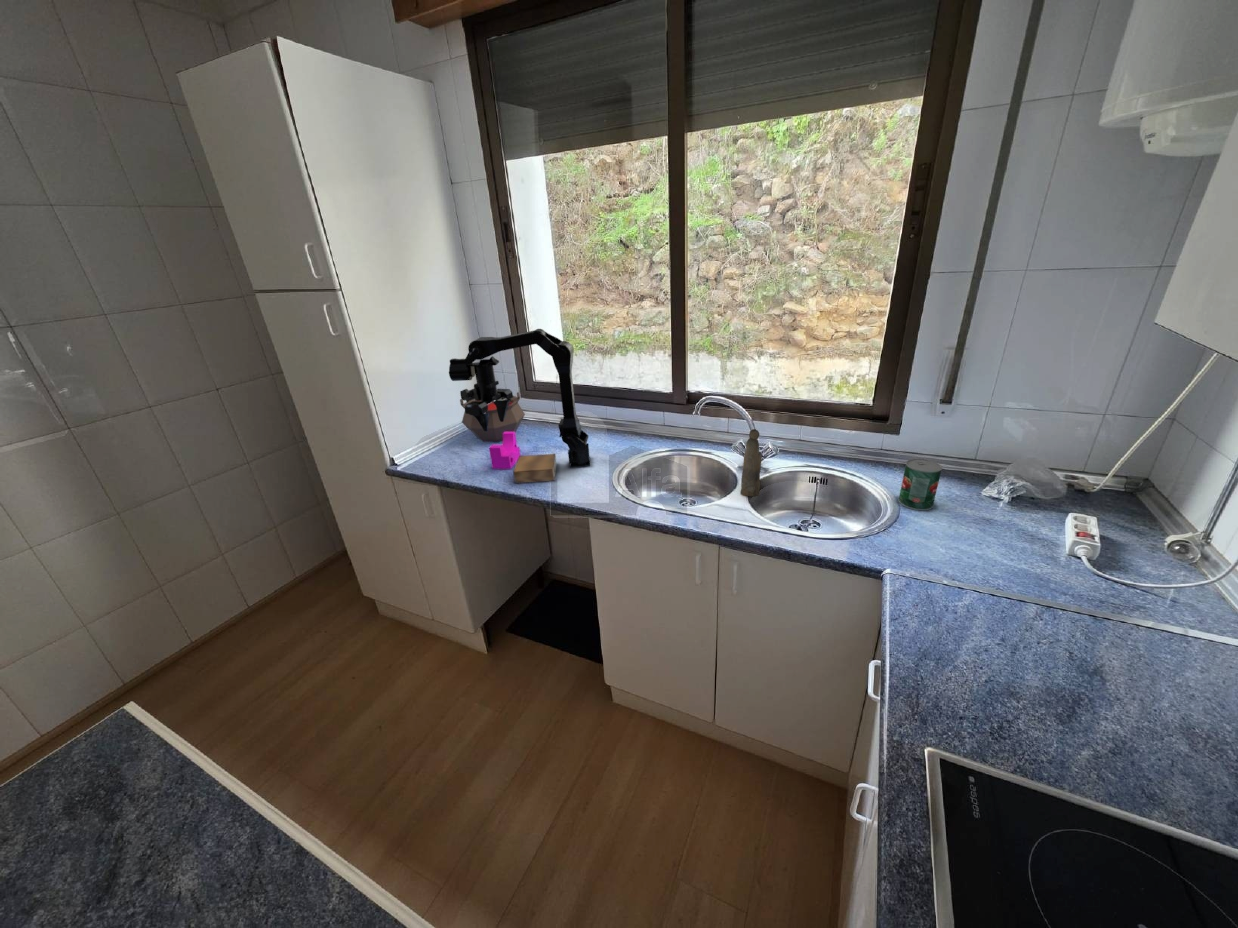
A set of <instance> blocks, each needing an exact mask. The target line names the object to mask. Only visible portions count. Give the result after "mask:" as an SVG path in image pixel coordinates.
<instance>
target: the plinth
mask: <svg viewBox="0 0 1238 928" xmlns="http://www.w3.org/2000/svg"><path fill="white" fill-rule="evenodd" d="M514 466H515V467H514V470H513V478H514V483H515V484H521V483H522V484H524V483H536V482H537V483H539V482H552V481H555V477H556V471H557V455H556V453H547V454H546V453H545V454H530V455H520V456H519V458H518V460H517V461H516V463H515V465H514Z"/></svg>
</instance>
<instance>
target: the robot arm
mask: <svg viewBox="0 0 1238 928" xmlns="http://www.w3.org/2000/svg"><path fill="white" fill-rule="evenodd" d="M533 345H537V346H538V347H539V348H540V349H542V350H543V352H544V353H546V354H547V355H549V356H551V357H552V361H553V364H554V368H555V369H556V372H557V374H558V382H559V390H560V399H561V409H562V415H563V417H562V418H560V420H559V423H558V430H559V435H558V437H559V438H561V441H562V442H563V443H564V444H565V445H567V447H568V450H567V456H568V463H569V464H570V465H569V466H570V468H579V467H581V468H582V467H590V466H591V455H590V444H589V443H588V440H589V434H588V433H587V432H585V431H584V430H583V429H582V426H581V423H580V419H579V417H578V414H577V412H576V411H577V410H576V400H575V391H574V383H573V381H574V380H573V373H572V371H573V363H574V351H575V350H574V349H575V348H574V346H573V344H571V343H570V342H569V341H567V340H561V339H560V338H558V337H556V336H555V335H552V334H550V333H548V332H547V331H545V330H544V329H542V328H537V329H534V330H530V331H525V332H520V333H515V334H510V335H505V336H499V337H497V336H479V337H477V338H476V339H474V340H472V341H470V343H469V344H468V347H467V348H468V353H467V355H466V356H465V358H455V357H454V358H451V359H449V366H448V375H449V378H450V380H451V381H452V382H461V381H472V380H473V378H474V377H475V381H476V383H473V388H472V389H468V388H464V389H462V390H460V391H459V392H460V393H459V394H460V399H462V400H463V402H464V401H465V403H466V402H469V401H470V400H473V399H475V400H476V401H479V400H481V402H476V401H472V402H470V403H468V404H466V406H465V407H464V408H465V409H464V408H463V409H464V412H465V413H466V414H469V415H473V416H474V417H475V418H476V419H477V420H478V422H479V423H480V425H481V427H482V429H483V430H484V431H485V432H487V431H488V422H489V412H488V411H487V410H488V405H489V404H491V403H494V404H495V405H496V408H497V412H498V416H499V420H500V422H503V421H504V418H505V415H506V412H507V409H508V406H509V403H510V401H511V398H513V396H514V394H513V393H514V392H513V391H512V389H510V388H498V387H497V386H498V385H500V382H499V380H496V376H495V370H494V366H497V365H498V364H499V363H500V361H499V359H497V358H495V356H493V355H495V354H497V353H500V352H503V351H508V350H514V349H518V348H523V347H528V346H533ZM490 356H491V357H490ZM489 357H490V358H489ZM475 361H479V362H475Z"/></svg>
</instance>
